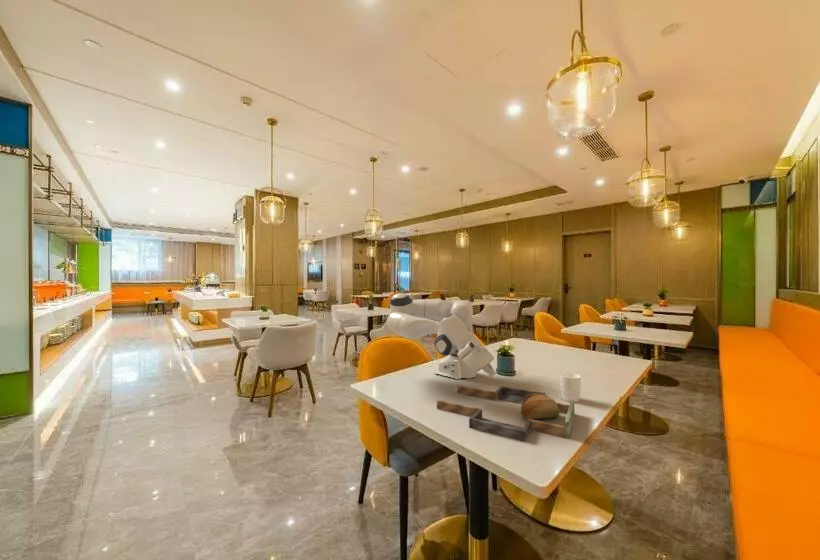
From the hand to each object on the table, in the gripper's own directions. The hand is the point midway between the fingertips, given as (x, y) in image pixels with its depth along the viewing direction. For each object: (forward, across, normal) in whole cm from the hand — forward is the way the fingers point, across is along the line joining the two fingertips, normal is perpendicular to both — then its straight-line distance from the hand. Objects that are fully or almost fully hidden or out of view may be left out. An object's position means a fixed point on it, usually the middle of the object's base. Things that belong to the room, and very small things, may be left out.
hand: (493, 375), depth 123 cm
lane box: (+12, 0, -7) cm, 14 cm away
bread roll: (+21, -2, +2) cm, 21 cm away
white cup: (+27, -26, +10) cm, 38 cm away
